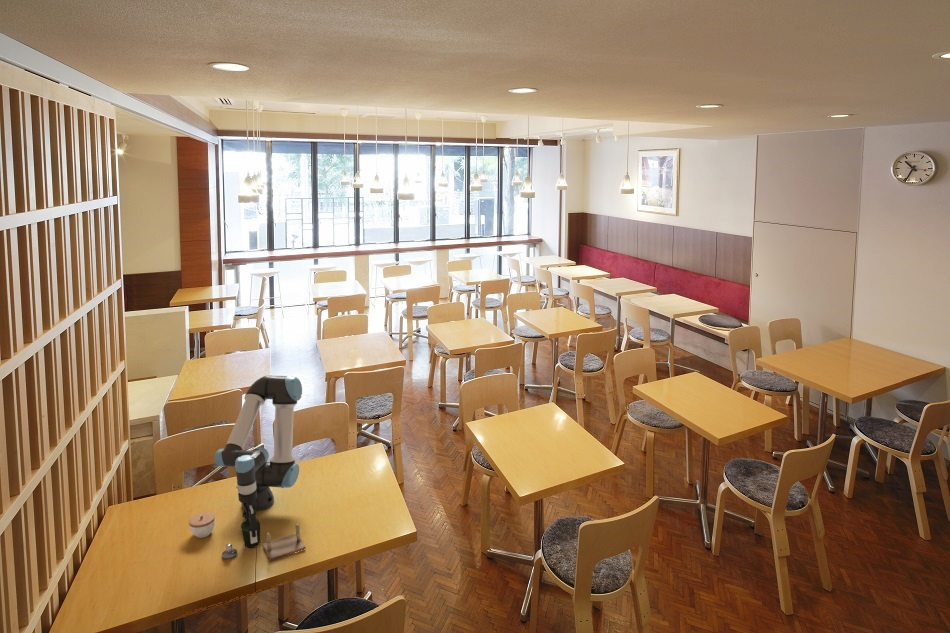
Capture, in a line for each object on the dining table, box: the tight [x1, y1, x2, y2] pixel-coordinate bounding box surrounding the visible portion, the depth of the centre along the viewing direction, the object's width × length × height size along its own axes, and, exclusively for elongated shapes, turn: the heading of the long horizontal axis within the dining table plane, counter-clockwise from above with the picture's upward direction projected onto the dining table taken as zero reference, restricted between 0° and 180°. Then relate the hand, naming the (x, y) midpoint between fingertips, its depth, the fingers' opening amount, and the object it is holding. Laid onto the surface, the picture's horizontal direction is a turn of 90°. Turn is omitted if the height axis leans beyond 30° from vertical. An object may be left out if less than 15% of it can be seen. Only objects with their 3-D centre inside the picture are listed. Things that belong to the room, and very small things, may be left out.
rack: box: [262, 523, 307, 563], centre depth 253 cm, size 12×15×10 cm
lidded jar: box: [188, 511, 216, 539], centre depth 264 cm, size 11×11×9 cm
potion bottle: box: [240, 508, 261, 549], centre depth 255 cm, size 8×8×18 cm
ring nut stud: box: [221, 542, 238, 561], centre depth 249 cm, size 6×6×5 cm
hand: (251, 537), depth 257 cm, fingers closed on potion bottle, 8 cm apart
